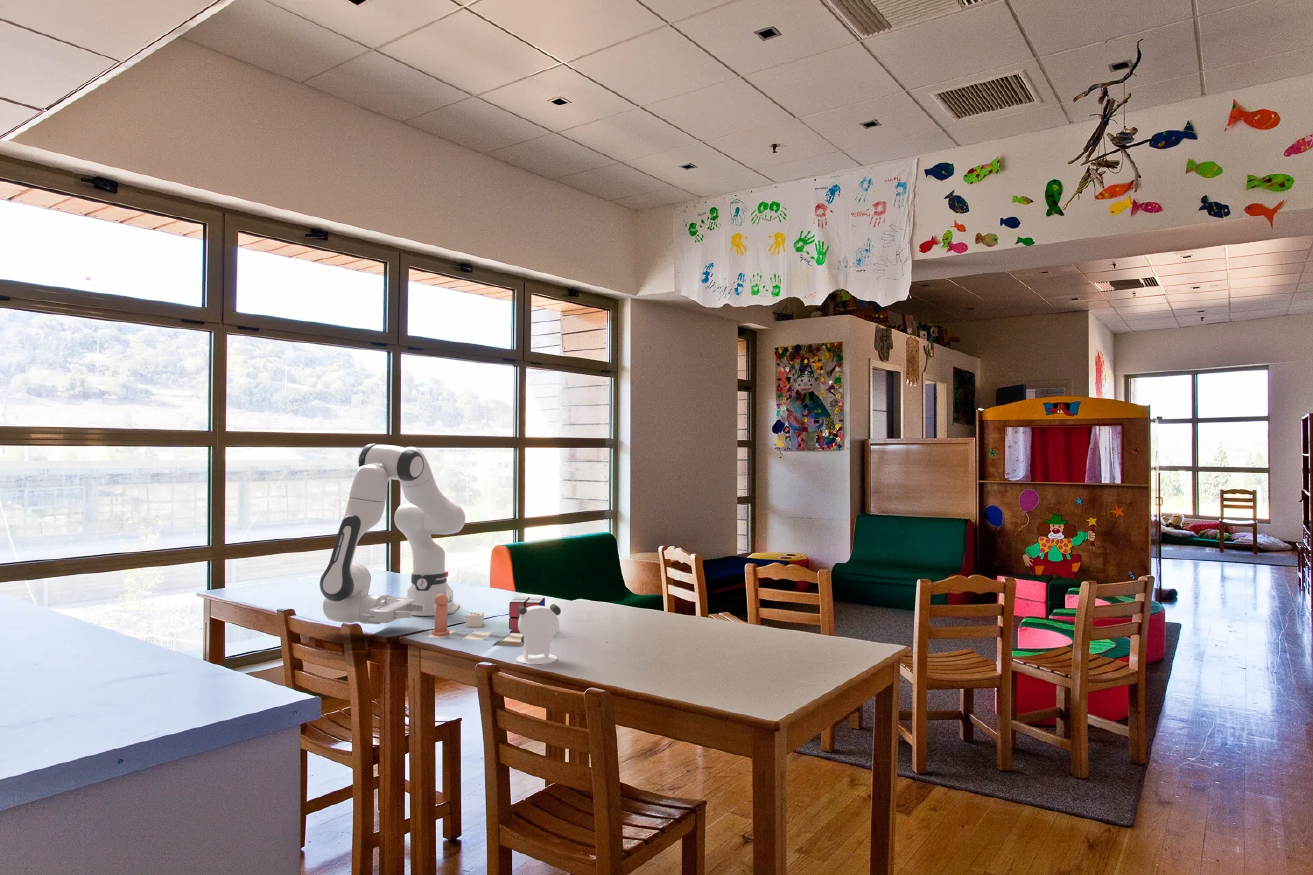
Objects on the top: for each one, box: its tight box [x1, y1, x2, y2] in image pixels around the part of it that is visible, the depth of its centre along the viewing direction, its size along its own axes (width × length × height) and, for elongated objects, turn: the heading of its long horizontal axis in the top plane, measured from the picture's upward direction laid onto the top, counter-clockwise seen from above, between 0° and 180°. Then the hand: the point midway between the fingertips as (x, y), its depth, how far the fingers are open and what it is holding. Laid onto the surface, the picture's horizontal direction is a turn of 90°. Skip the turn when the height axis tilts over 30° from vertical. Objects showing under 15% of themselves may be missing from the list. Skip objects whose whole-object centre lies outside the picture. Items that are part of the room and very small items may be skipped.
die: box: [465, 611, 485, 628], centre depth 263 cm, size 5×5×5 cm
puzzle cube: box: [508, 596, 546, 633], centre depth 263 cm, size 10×10×10 cm
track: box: [425, 629, 524, 647], centre depth 248 cm, size 11×30×1 cm, turn 83°
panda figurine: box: [515, 603, 562, 665], centre depth 227 cm, size 12×11×15 cm
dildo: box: [431, 593, 450, 636], centre depth 250 cm, size 5×5×12 cm
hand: (417, 611), depth 250 cm, fingers open, 8 cm apart
